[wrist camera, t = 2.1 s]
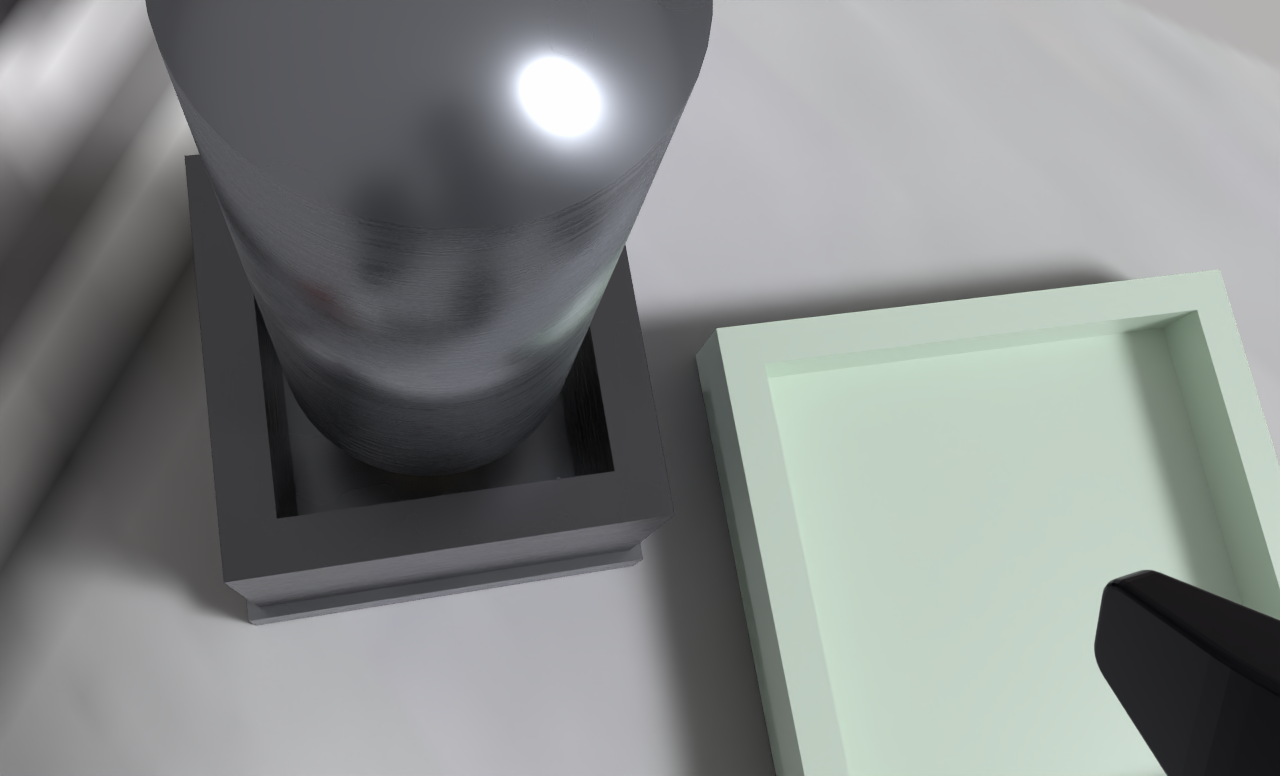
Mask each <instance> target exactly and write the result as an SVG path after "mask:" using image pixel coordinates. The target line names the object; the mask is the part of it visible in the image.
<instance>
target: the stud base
mask: <svg viewBox="0 0 1280 776" xmlns="http://www.w3.org/2000/svg"><path fill="white" fill-rule="evenodd" d="M282 373H283V382H284V391H285V401H286V410H287V419H288V428H289V438H290V447H291V456H292V465H293V475H294V484H295V493H296V503H297V512H298V516H300V515H307V514H314V513H321V512H328V511H335V510H342V509H350V508H357V507H364V506H371V505H378V504H385V503H392V502H399V501H406V500H413V499H421V498H428V497H435V496H442V495H449V494H456V493H463V492H470V491H477V490H484V489H492V488H499V487H506V486H513V485H520V484H527V483H534V482H541V481H548V480H555V479H562V478H570V477H575V474H574V468H573V462H572V455H571V449H570V443H569V437H568V431H567V425H566V419H565V413H564V407H563V400H562V394H561V392H560V394H559V396H558V398H557V400H556V402H555V404H554V406H553V407H552V409H551V410H550V412H549V413H548V415H547V416H546V418H545V419H544V421H543V422H542V423H541V424H540V425H539V426H538V427H537V429H536V430H535V431H534V432H533V433H532V434H531V435H530V436H529V437H528V438H526V439H525V440H524V441H523V442H522V443H521V444H520V445H518V446H517V447H515V448H514V449H512V450H511V451H509V452H508V453H506V454H505V455H503V456H502V457H500V458H498V459H496V460H494V461H492V462H489V463H487V464H485V465H482V466H479V467H477V468H474V469H471V470H468V471H463V472H458V473H453V474H448V475H435V476H420V475H407V474H401V473H396V472H390V471H387V470H384V469H380V468H377V467H374V466H371V465H369V464H367V463H365V462H362V461H360V460H358V459H356V458H354V457H352V456H350V455H349V454H347V453H346V452H344V451H343V450H341V449H340V448H338V447H336V446H335V445H334V444H333V443H332V442H330V441H329V440H328V439H327V438H326V437H325V436H323V435H322V434H321V433H320V432H319V431H318V429H317V428H316V427H315V426H314V425H313V424H312V423H311V422H310V421H309V419H308V418H307V417H306V415H305V414H304V412H303V411H302V409H301V408H300V406H299V405H298V403H297V401H296V399H295V397H294V395H293V393H292V391H291V389H290V387H289V384H288V382H287V379H286V376H285V374H284V371H283V369H282ZM642 559H643V557H642V551H641V545H640V543H639V544H637V545H636V546H635V547H634V548H632V549H631V550H627V551H620V552H614V553H608V554H601V555H595V556H588V557H582V558H576V559H569V560H563V561H556V562H550V563H543V564H537V565H531V566H524V567H518V568H511V569H505V570H498V571H492V572H486V573H479V574H473V575H466V576H460V577H453V578H447V579H441V580H434V581H428V582H421V583H415V584H408V585H402V586H396V587H389V588H383V589H376V590H370V591H364V592H357V593H351V594H344V595H338V596H331V597H325V598H319V599H312V600H306V601H299V602H293V603H286V604H280V605H274V606H267V607H261V608H259V607H258V606H256V605H255V604H253V603H252V602H251V601H249V600H248V599H246V601H247V611H248V621H249V622H251V623H252V624H254V625H262V624H269V623H275V622H281V621H288V620H294V619H300V618H307V617H313V616H319V615H325V614H332V613H338V612H344V611H351V610H357V609H363V608H370V607H376V606H382V605H388V604H395V603H401V602H407V601H414V600H420V599H426V598H433V597H439V596H445V595H452V594H458V593H464V592H470V591H477V590H483V589H489V588H496V587H502V586H508V585H515V584H521V583H527V582H533V581H540V580H546V579H552V578H559V577H565V576H571V575H578V574H584V573H590V572H597V571H603V570H609V569H615V568H622V567H628V566H634V565H635V564H637V563H638V562H639V561H641V560H642Z"/></svg>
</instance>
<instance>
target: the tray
mask: <svg viewBox="0 0 1280 776" xmlns="http://www.w3.org/2000/svg"><path fill="white" fill-rule="evenodd" d="M696 361H697V366H698V372H699V377H700V382H701V387H702V392H703V398H704V403H705V408H706V413H707V418H708V424H709V429H710V434H711V439H712V445H713V450H714V455H715V460H716V465H717V471H718V476H719V481H720V486H721V491H722V497H723V502H724V507H725V512H726V517H727V523H728V528H729V533H730V538H731V543H732V549H733V554H734V559H735V564H736V569H737V575H738V580H739V585H740V590H741V596H742V601H743V606H744V611H745V616H746V622H747V627H748V632H749V637H750V642H751V648H752V653H753V658H754V663H755V668H756V674H757V679H758V684H759V689H760V694H761V700H762V705H763V710H764V715H765V720H766V726H767V731H768V736H769V741H770V747H771V752H772V757H773V762H774V767H775V773H776V776H1167V775H1166V774H1165V772H1164V770H1163V769H1162V767H1161V766H1160V764H1159V763H1158V761H1157V760H1156V758H1155V756H1154V755H1153V753H1152V752H1151V750H1150V749H1149V747H1148V745H1147V744H1146V742H1145V741H1144V739H1143V738H1142V736H1141V735H1140V733H1139V731H1138V730H1137V728H1136V727H1135V725H1134V724H1133V722H1132V720H1131V719H1130V717H1129V716H1128V714H1127V713H1126V711H1125V709H1124V708H1123V706H1122V705H1121V703H1120V702H1119V700H1118V699H1117V697H1116V695H1115V694H1114V692H1113V691H1112V689H1111V688H1110V686H1109V684H1108V683H1107V681H1106V680H1105V678H1104V677H1103V675H1102V673H1101V671H1100V669H1099V667H1098V665H1097V662H1096V658H1095V653H1094V641H1095V635H1096V629H1097V623H1098V617H1099V611H1100V605H1101V598H1102V593H1103V590H1104V588H1105V586H1106V585H1107V584H1108V582H1109V581H1111V580H1113V579H1115V578H1118V577H1122V576H1125V575H1128V574H1131V573H1134V572H1137V571H1141V570H1154V571H1157V572H1160V573H1163V574H1165V575H1168V576H1170V577H1173V578H1175V579H1178V580H1180V581H1183V582H1185V583H1188V584H1191V585H1193V586H1196V587H1198V588H1201V589H1203V590H1206V591H1208V592H1211V593H1213V594H1216V595H1218V596H1221V597H1223V598H1226V599H1228V600H1231V601H1233V602H1236V603H1238V604H1241V605H1243V606H1246V607H1248V608H1251V609H1253V610H1256V611H1258V612H1261V613H1263V614H1266V615H1268V616H1271V617H1273V618H1276V619H1278V620H1280V466H1279V463H1278V460H1277V456H1276V453H1275V450H1274V446H1273V443H1272V440H1271V437H1270V433H1269V430H1268V427H1267V423H1266V420H1265V417H1264V414H1263V410H1262V407H1261V404H1260V400H1259V397H1258V394H1257V390H1256V387H1255V384H1254V381H1253V377H1252V374H1251V371H1250V367H1249V364H1248V361H1247V358H1246V354H1245V351H1244V348H1243V344H1242V341H1241V338H1240V335H1239V331H1238V328H1237V325H1236V321H1235V318H1234V315H1233V312H1232V308H1231V305H1230V302H1229V298H1228V295H1227V292H1226V288H1225V285H1224V282H1223V279H1222V275H1221V272H1220V269H1219V270H1210V271H1202V272H1193V273H1185V274H1176V275H1168V276H1159V277H1150V278H1142V279H1133V280H1125V281H1116V282H1108V283H1099V284H1091V285H1082V286H1074V287H1065V288H1056V289H1048V290H1039V291H1031V292H1022V293H1014V294H1005V295H997V296H988V297H980V298H971V299H962V300H954V301H945V302H937V303H928V304H920V305H911V306H903V307H894V308H885V309H877V310H868V311H860V312H851V313H843V314H834V315H826V316H817V317H809V318H800V319H791V320H783V321H774V322H766V323H757V324H749V325H740V326H732V327H723V328H716V329H715V331H714V332H713V333H712V335H711V336H710V337H709V338H708V340H707V341H706V342H705V344H704V345H703V346H702V348H701V349H700V350H699V352H698V353H697V354H696Z"/></svg>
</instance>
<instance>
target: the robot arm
mask: <svg viewBox="0 0 1280 776" xmlns="http://www.w3.org/2000/svg"><path fill="white" fill-rule="evenodd" d="M1094 653H1095V658H1096V662H1097V665H1098V667H1099V669H1100V671H1101V673H1102V675H1103V677H1104V678H1105V680H1106V681H1107V683H1108V684H1109V686H1110V688H1111V689H1112V691H1113V692H1114V694H1115V695H1116V697H1117V699H1118V700H1119V702H1120V703H1121V705H1122V706H1123V708H1124V709H1125V711H1126V713H1127V714H1128V716H1129V717H1130V719H1131V720H1132V722H1133V724H1134V725H1135V727H1136V728H1137V730H1138V731H1139V733H1140V735H1141V736H1142V738H1143V739H1144V741H1145V742H1146V744H1147V745H1148V747H1149V749H1150V750H1151V752H1152V753H1153V755H1154V756H1155V758H1156V760H1157V761H1158V763H1159V764H1160V766H1161V767H1162V769H1163V770H1164V772H1165V774H1166V775H1167V776H1280V620H1278V619H1276V618H1273V617H1271V616H1268V615H1266V614H1263V613H1261V612H1258V611H1256V610H1253V609H1251V608H1248V607H1246V606H1243V605H1241V604H1238V603H1236V602H1233V601H1231V600H1228V599H1226V598H1223V597H1221V596H1218V595H1216V594H1213V593H1211V592H1208V591H1206V590H1203V589H1201V588H1198V587H1196V586H1193V585H1191V584H1188V583H1185V582H1183V581H1180V580H1178V579H1175V578H1173V577H1170V576H1168V575H1165V574H1163V573H1160V572H1157V571H1154V570H1141V571H1137V572H1134V573H1131V574H1128V575H1125V576H1122V577H1118V578H1115V579H1113V580H1111V581H1109V582H1108V584H1107V585H1106V586H1105V588H1104V590H1103V593H1102V598H1101V605H1100V611H1099V617H1098V623H1097V629H1096V635H1095V641H1094Z"/></svg>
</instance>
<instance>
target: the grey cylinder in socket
mask: <svg viewBox="0 0 1280 776" xmlns="http://www.w3.org/2000/svg"><path fill="white" fill-rule="evenodd" d="M145 1H146V7H147V13H148V17H149V20H150V23H151V26H152V29H153V32H154V35H155V38H156V41H157V44H158V47H159V50H160V52H161V55H162V57H163V60H164V63H165V65H166V68H167V70H168V73H169V76H170V78H171V81H172V83H173V86H174V89H175V91H176V94H177V96H178V99H179V102H180V104H181V107H182V109H183V112H184V115H185V117H186V120H187V122H188V125H189V127H190V130H191V133H192V135H193V138H194V140H195V143H196V146H197V148H198V151H199V153H200V155H190V156H185V165H186V176H187V187H188V197H189V208H190V219H191V230H192V241H193V252H194V263H195V274H196V284H197V295H198V306H199V317H200V328H201V339H202V350H203V361H204V371H205V382H206V393H207V404H208V415H209V426H210V437H211V447H212V458H213V469H214V480H215V491H216V502H217V513H218V524H219V534H220V545H221V556H222V567H223V578H224V583H225V584H226V585H228V586H229V587H231V588H232V589H234V590H235V591H236V592H238V593H239V594H241V595H242V596H243V597H245V598H246V599H248V600H249V601H251V602H252V603H253V604H255V605H256V606H258V607H259V608H261V607H267V606H274V605H280V604H286V603H293V602H299V601H306V600H312V599H319V598H325V597H331V596H338V595H344V594H351V593H357V592H364V591H370V590H376V589H383V588H389V587H396V586H402V585H408V584H415V583H421V582H428V581H434V580H441V579H447V578H453V577H460V576H466V575H473V574H479V573H486V572H492V571H498V570H505V569H511V568H518V567H524V566H531V565H537V564H543V563H550V562H556V561H563V560H569V559H576V558H582V557H588V556H595V555H601V554H608V553H614V552H620V551H627V550H631V549H632V548H634V547H635V546H636V545H637V544H639V543H640V542H641V541H642V540H644V539H645V538H646V537H647V536H649V535H650V534H651V533H652V532H654V531H655V530H656V529H657V528H659V527H660V526H661V525H662V524H664V523H665V522H666V521H667V520H669V519H670V518H671V517H673V516H674V509H673V504H672V498H671V493H670V487H669V482H668V476H667V471H666V465H665V460H664V454H663V449H662V443H661V438H660V432H659V427H658V421H657V416H656V410H655V405H654V400H653V394H652V389H651V383H650V378H649V372H648V367H647V361H646V356H645V350H644V345H643V339H642V334H641V328H640V323H639V317H638V312H637V306H636V301H635V295H634V290H633V284H632V279H631V273H630V268H629V262H628V257H627V251H626V246H625V243H626V241H627V239H628V236H629V234H630V232H631V229H632V227H633V225H634V223H635V220H636V218H637V216H638V213H639V211H640V209H641V206H642V204H643V202H644V200H645V197H646V195H647V193H648V190H649V188H650V186H651V184H652V181H653V179H654V177H655V174H656V172H657V170H658V168H659V165H660V163H661V161H662V158H663V156H664V154H665V151H666V149H667V147H668V145H669V142H670V140H671V138H672V135H673V133H674V131H675V129H676V126H677V124H678V122H679V119H680V117H681V115H682V113H683V110H684V108H685V106H686V103H687V101H688V99H689V96H690V94H691V92H692V90H693V87H694V85H695V83H696V80H697V78H698V76H699V73H700V69H701V66H702V63H703V60H704V57H705V53H706V50H707V47H708V41H709V35H710V28H711V22H712V15H713V0H145ZM282 369H283V371H284V374H285V376H286V379H287V382H288V384H289V387H290V389H291V391H292V393H293V395H294V397H295V399H296V401H297V403H298V405H299V406H300V408H301V409H302V411H303V412H304V414H305V415H306V417H307V418H308V419H309V421H310V422H311V423H312V424H313V425H314V426H315V427H316V428H317V429H318V431H319V432H320V433H321V434H322V435H323V436H325V437H326V438H327V439H328V440H329V441H330V442H332V443H333V444H334V445H335V446H336V447H338V448H340V449H341V450H343V451H344V452H346V453H347V454H349V455H350V456H352V457H354V458H356V459H358V460H360V461H362V462H365V463H367V464H369V465H371V466H374V467H377V468H380V469H384V470H387V471H390V472H396V473H401V474H407V475H420V476H435V475H448V474H453V473H458V472H463V471H468V470H471V469H474V468H477V467H479V466H482V465H485V464H487V463H489V462H492V461H494V460H496V459H498V458H500V457H502V456H503V455H505V454H506V453H508V452H509V451H511V450H512V449H514V448H515V447H517V446H518V445H520V444H521V443H522V442H523V441H524V440H525V439H526V438H528V437H529V436H530V435H531V434H532V433H533V432H534V431H535V430H536V429H537V427H538V426H539V425H540V424H541V423H542V422H543V421H544V419H545V418H546V416H547V415H548V413H549V412H550V410H551V409H552V407H553V406H554V404H555V402H556V400H557V398H558V396H559V394H560V392H561V394H562V400H563V407H564V413H565V419H566V425H567V431H568V437H569V443H570V449H571V455H572V462H573V468H574V474H575V477H570V478H562V479H555V480H548V481H541V482H534V483H527V484H520V485H513V486H506V487H499V488H492V489H484V490H477V491H470V492H463V493H456V494H449V495H442V496H435V497H428V498H421V499H413V500H406V501H399V502H392V503H385V504H378V505H371V506H364V507H357V508H350V509H342V510H335V511H328V512H321V513H314V514H307V515H300V516H298V512H297V503H296V493H295V484H294V475H293V465H292V456H291V447H290V438H289V428H288V419H287V410H286V401H285V391H284V382H283V373H282Z"/></svg>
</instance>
